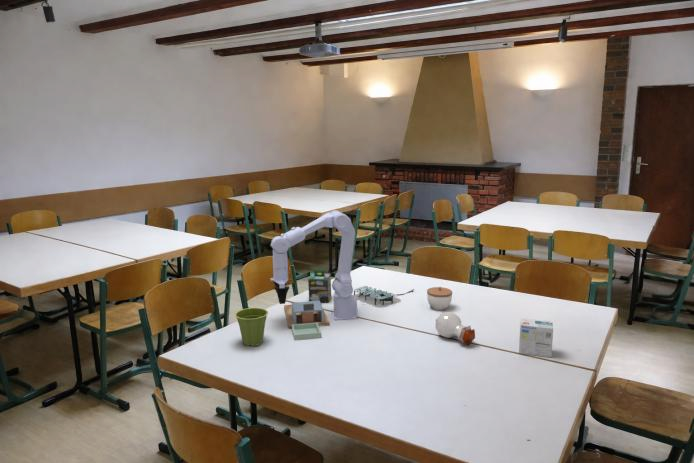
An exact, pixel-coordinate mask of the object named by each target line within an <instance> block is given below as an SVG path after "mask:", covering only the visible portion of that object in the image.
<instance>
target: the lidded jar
mask: <svg viewBox="0 0 694 463" xmlns="http://www.w3.org/2000/svg"><path fill="white" fill-rule="evenodd" d="M426 293H427V294H426V298H427V302H428V304H429V306H430V307H431V309H432V310H435V311H445V310H447V308H448V307H449V306H450V304H451V303H452V298H453V290H451V289H450V288H447V287H441V286H434V287H429V288H427V289H426Z"/></svg>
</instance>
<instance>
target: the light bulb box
mask: <svg viewBox="0 0 694 463" xmlns="http://www.w3.org/2000/svg"><path fill="white" fill-rule="evenodd" d="M553 336H554V324H553V321H550V320H548V321H547V320H537V319H528V318H522V317H521V319H520V326H519V338H518V339H519V342H518V343H519V345H518V353H519V354H524V355H529V356H530V355H531V356H537V357H546V358H551V357H552V354H553V352H552V351H553Z"/></svg>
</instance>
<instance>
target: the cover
mask: <svg viewBox="0 0 694 463" xmlns="http://www.w3.org/2000/svg"><path fill="white" fill-rule="evenodd" d="M290 305H292V317H293V321H294V324H296V313H302V312H315V311H318V314H319V317H320V319H321V322H324V311H325V308H324V307H323V304H322V303H320V301H309V300H308V301H298V302H291V304H290Z"/></svg>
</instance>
